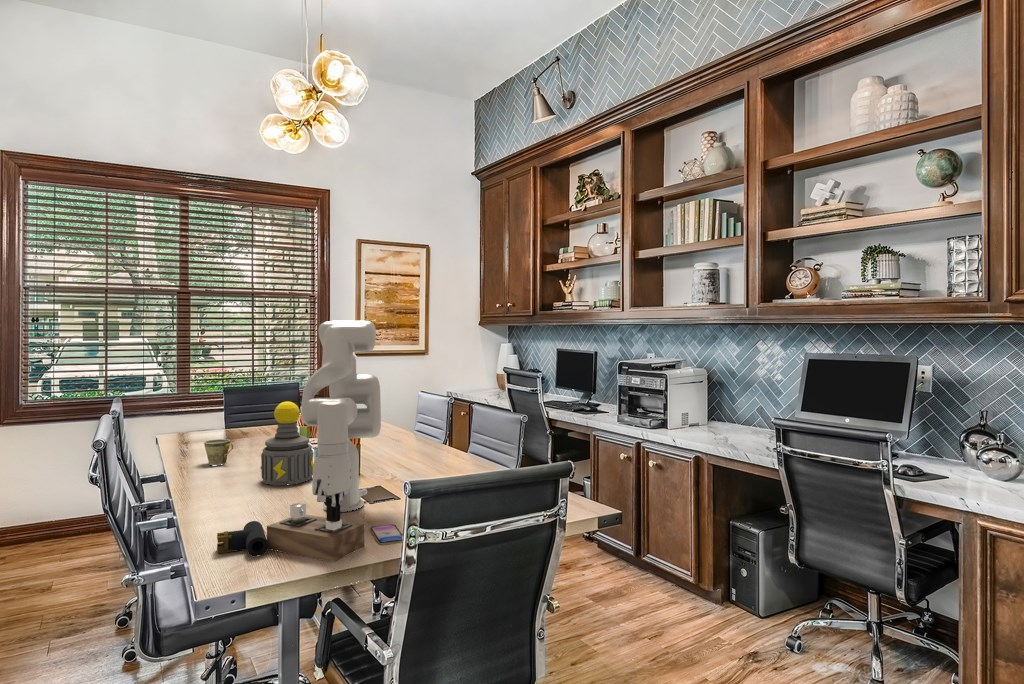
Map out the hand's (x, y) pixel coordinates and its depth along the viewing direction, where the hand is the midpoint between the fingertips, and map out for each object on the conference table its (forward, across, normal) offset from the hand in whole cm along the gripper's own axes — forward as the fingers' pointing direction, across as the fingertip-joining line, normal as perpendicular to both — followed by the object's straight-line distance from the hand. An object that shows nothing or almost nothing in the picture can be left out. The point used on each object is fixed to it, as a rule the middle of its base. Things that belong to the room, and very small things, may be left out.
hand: (333, 520), depth 158 cm
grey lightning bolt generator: (+7, -51, -67) cm, 85 cm away
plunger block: (+8, 0, -6) cm, 10 cm away
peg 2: (+6, 0, 0) cm, 6 cm away
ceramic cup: (+7, -59, -113) cm, 128 cm away
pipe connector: (+8, +8, -24) cm, 26 cm away
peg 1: (+4, 0, -12) cm, 13 cm away
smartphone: (+9, -16, +5) cm, 19 cm away
